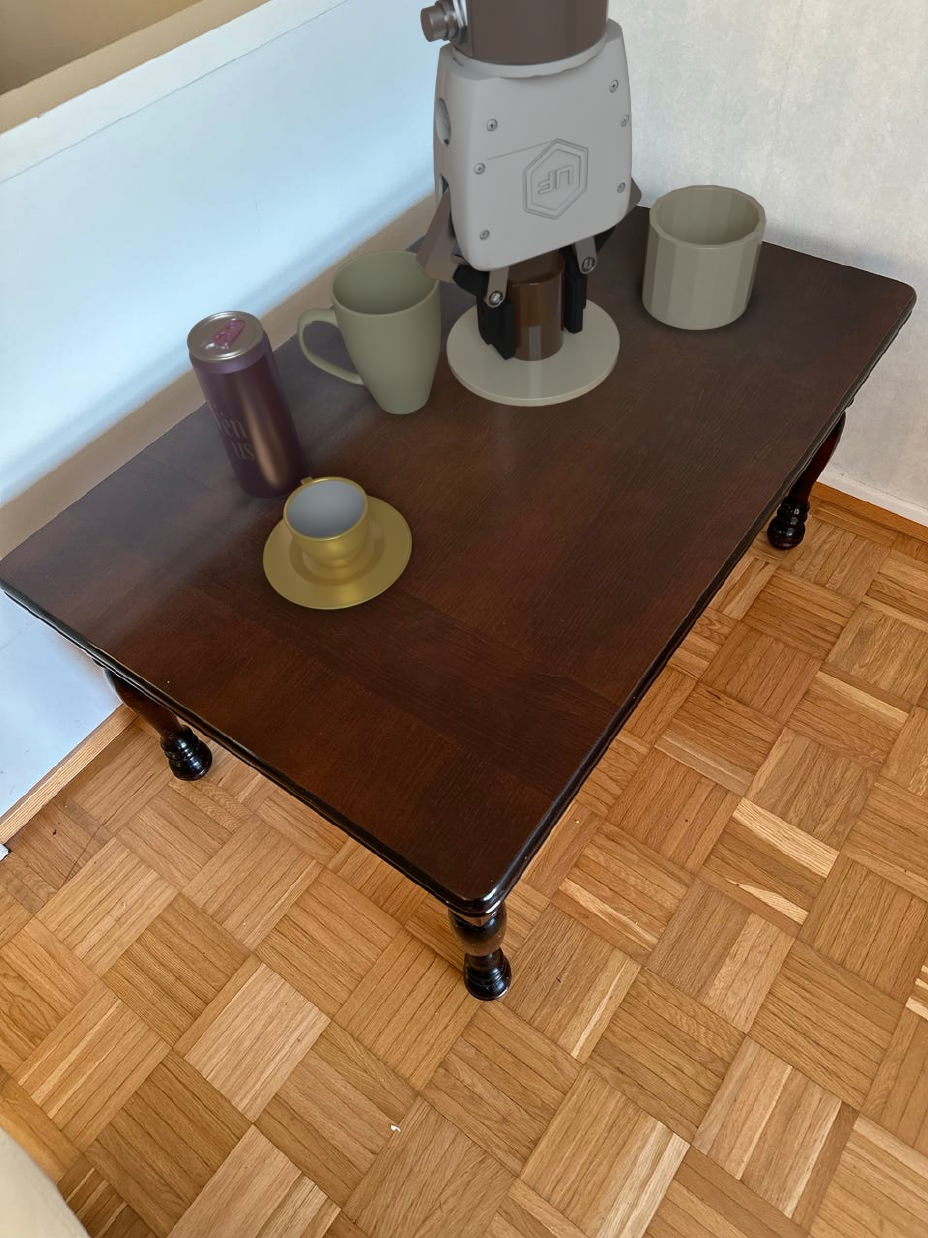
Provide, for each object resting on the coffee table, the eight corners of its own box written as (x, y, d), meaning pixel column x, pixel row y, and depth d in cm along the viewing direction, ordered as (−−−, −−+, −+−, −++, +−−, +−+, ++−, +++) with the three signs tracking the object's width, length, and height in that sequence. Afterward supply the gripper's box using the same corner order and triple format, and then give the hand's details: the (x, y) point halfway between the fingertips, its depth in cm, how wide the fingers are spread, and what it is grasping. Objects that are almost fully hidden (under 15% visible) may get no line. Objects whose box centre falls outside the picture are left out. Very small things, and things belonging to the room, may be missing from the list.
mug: (392, 348, 87) (373, 233, 77) (471, 388, 83) (461, 272, 73) (312, 412, 83) (281, 298, 73) (391, 457, 79) (369, 343, 69)
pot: (743, 265, 91) (759, 183, 84) (753, 329, 85) (771, 247, 78) (640, 266, 92) (648, 185, 85) (642, 330, 86) (651, 249, 79)
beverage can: (321, 464, 79) (280, 318, 67) (285, 512, 76) (236, 368, 64) (263, 447, 81) (213, 301, 68) (226, 493, 78) (167, 349, 65)
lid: (616, 302, 61) (623, 208, 56) (621, 413, 55) (629, 320, 49) (454, 305, 62) (446, 213, 57) (441, 415, 56) (429, 324, 51)
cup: (438, 571, 71) (431, 525, 67) (297, 636, 68) (280, 593, 64) (374, 477, 77) (364, 430, 73) (243, 533, 75) (224, 487, 70)
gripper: (395, 89, 39) (438, 415, 54) (725, -12, 42) (678, 322, 57) (333, 26, 43) (388, 346, 58) (637, -61, 46) (615, 262, 61)
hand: (532, 331), depth 57 cm, fingers closed on lid, 4 cm apart
